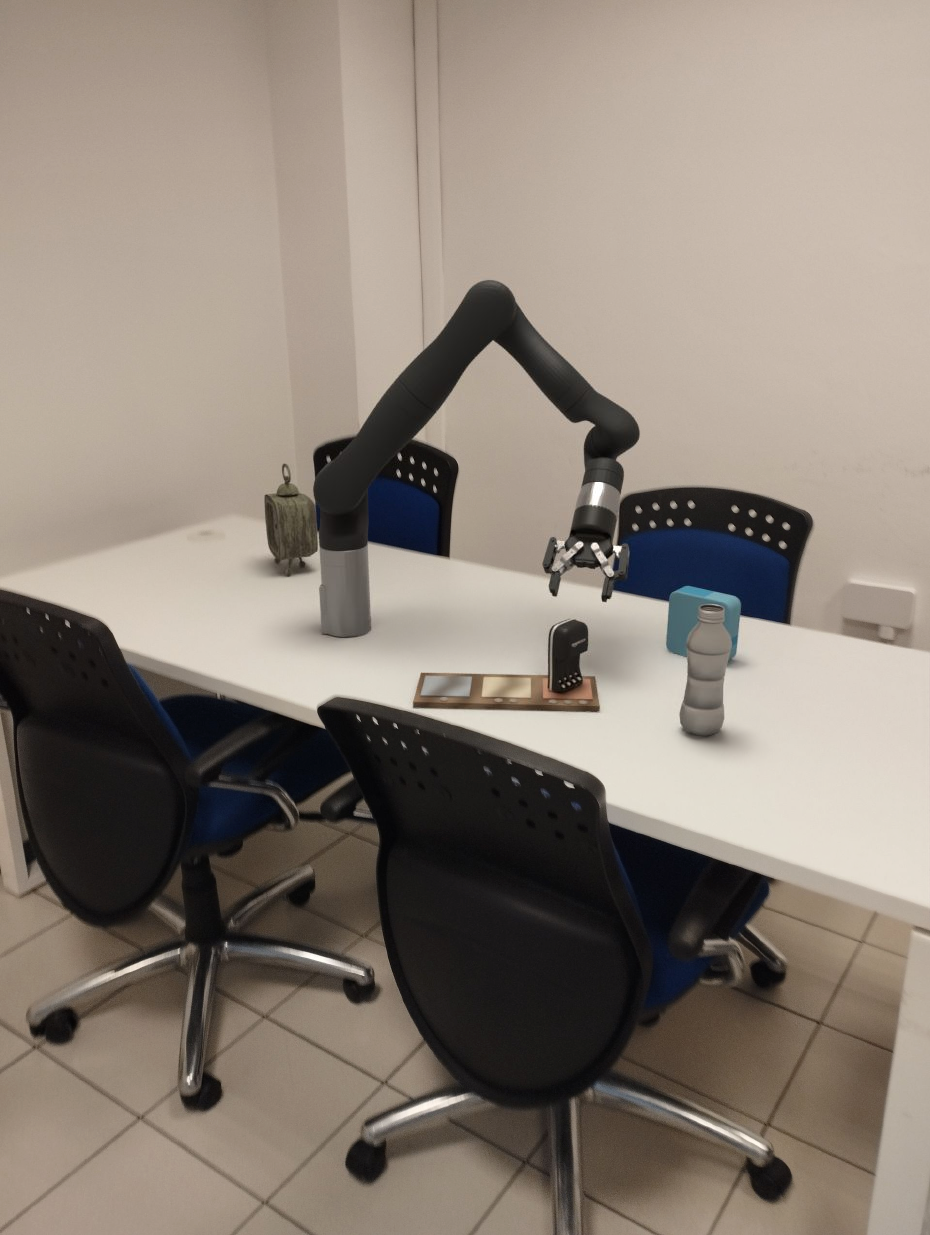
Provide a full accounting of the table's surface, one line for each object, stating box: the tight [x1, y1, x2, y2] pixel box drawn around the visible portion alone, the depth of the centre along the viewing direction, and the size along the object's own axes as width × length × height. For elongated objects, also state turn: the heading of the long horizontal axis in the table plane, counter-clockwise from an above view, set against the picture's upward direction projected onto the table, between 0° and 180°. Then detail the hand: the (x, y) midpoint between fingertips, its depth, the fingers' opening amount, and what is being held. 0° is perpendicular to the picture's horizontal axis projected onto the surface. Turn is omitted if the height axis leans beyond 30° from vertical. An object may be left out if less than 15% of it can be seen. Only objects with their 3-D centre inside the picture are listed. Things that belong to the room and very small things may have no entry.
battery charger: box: [547, 618, 589, 693], centre depth 158 cm, size 7×4×11 cm, turn 136°
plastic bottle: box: [679, 604, 732, 736], centre depth 144 cm, size 6×7×20 cm
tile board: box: [412, 672, 601, 713], centre depth 160 cm, size 30×12×1 cm, turn 86°
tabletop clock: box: [263, 463, 319, 577], centre depth 224 cm, size 14×9×25 cm, turn 23°
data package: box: [665, 585, 742, 661], centre depth 174 cm, size 12×4×12 cm, turn 49°
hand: (578, 597), depth 161 cm, fingers open, 8 cm apart
